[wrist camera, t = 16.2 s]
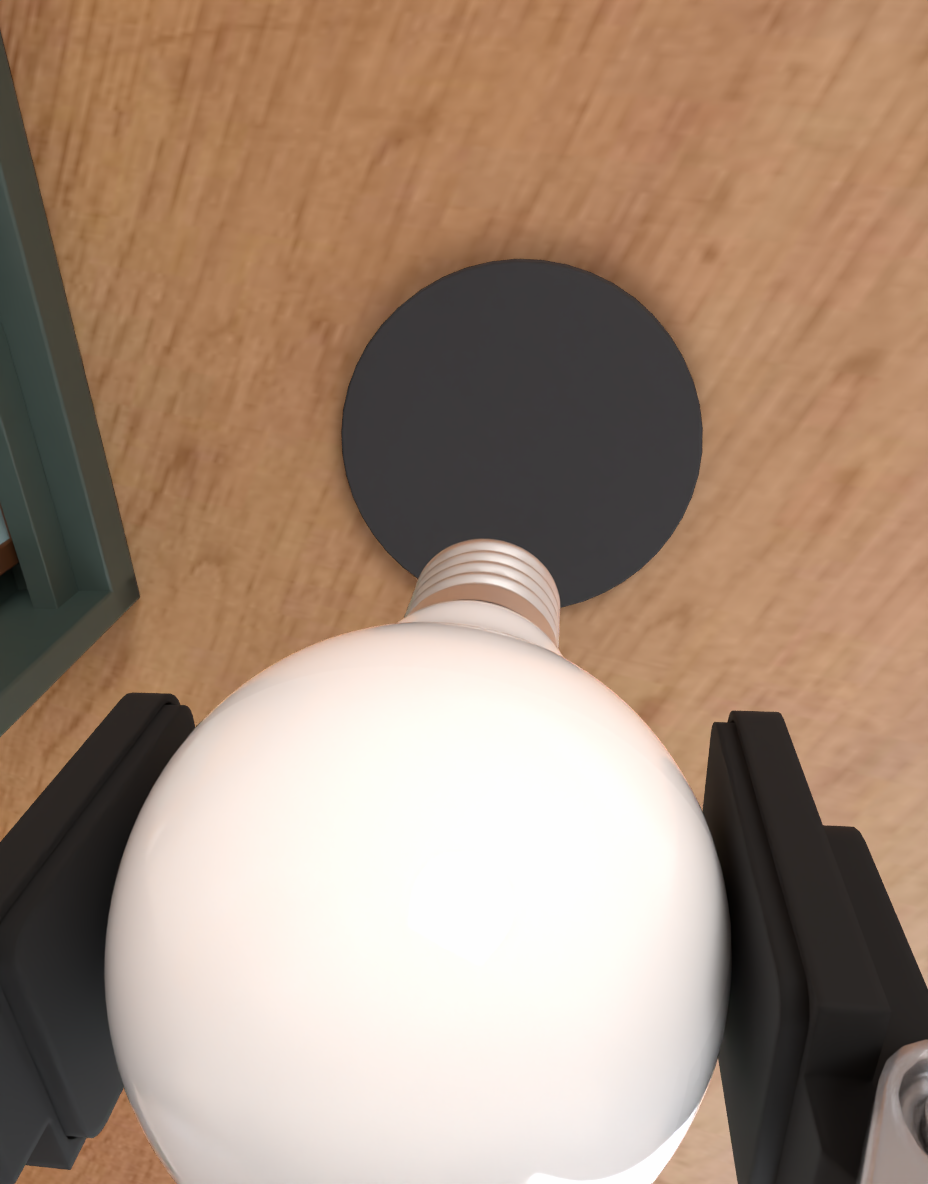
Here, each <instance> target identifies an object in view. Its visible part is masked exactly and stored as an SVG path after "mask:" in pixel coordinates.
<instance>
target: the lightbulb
mask: <svg viewBox="0 0 928 1184" xmlns="http://www.w3.org/2000/svg"><path fill="white" fill-rule="evenodd" d="M559 624H560V598H559V593H558V590H557V587H556V584H555V582H554V580H553V578H552V576H551V574H550V573H549V571H548V570H547V569H546V567H545V566H544V565H543V564H542V563H541V562H540V561H539V560H538V559H537V558H536V557H535V556H533V555H532V554H531V553H529V552H528V551H526V550H524V549H523V548H521V547H519V546H517V545H514V544H511V543H508V542H505V541H501V540H495V539H472V540H467V541H463V542H459V543H457V544H454V545H452V546H450V547H448V548H446V549H444V550H443V551H441V552H440V553H438V554H437V555H436V556H435V557H434V558H432V559H431V560H430V562H429V563H428V564H427V565H426V566H425V568H424V569H423V571H422V572H421V574H420V576H419V578H418V581H417V583H416V586H415V590H414V592H413V595H412V597H411V601H410V603H409V605H408V608H407V611H406V614H405V616H404V618H403V619H401V620H400V621H399V622H397V623H393V624H385V625H379V626H373V627H368V628H364V629H359V630H355V631H351V632H347V633H344V634H340V635H337V636H334V637H331V638H328V639H325V640H322V641H320V642H317V643H315V644H312V645H310V646H308V647H305V648H303V649H301V650H299V651H296V652H294V653H292V654H290V655H288V656H286V657H285V658H283V659H281V660H279V661H277V662H276V663H274V664H272V665H270V666H269V667H267V668H266V669H264V670H262V671H261V672H259V673H258V674H256V675H255V676H253V677H252V678H250V679H249V680H248V681H246V682H245V683H244V684H242V685H241V686H240V687H238V688H237V689H236V690H235V691H233V692H232V693H231V694H230V695H229V696H227V697H226V698H225V699H224V700H223V701H222V702H221V703H219V704H218V705H217V706H216V707H215V708H214V709H213V710H212V711H211V712H210V713H209V714H208V715H207V716H206V717H205V718H204V719H203V720H202V721H201V722H200V723H199V724H198V725H197V726H196V727H195V729H194V730H193V731H192V732H191V733H190V734H189V736H188V737H187V738H186V739H185V740H184V742H183V743H182V744H181V745H180V746H179V748H178V749H177V751H176V752H175V753H174V755H173V756H172V757H171V759H170V760H169V762H168V763H167V764H166V766H165V767H164V769H163V771H162V772H161V774H160V775H159V777H158V779H157V780H156V782H155V783H154V785H153V787H152V789H151V791H150V792H149V794H148V796H147V798H146V800H145V802H144V804H143V806H142V808H141V810H140V812H139V814H138V816H137V819H136V821H135V823H134V825H133V828H132V830H131V833H130V835H129V838H128V841H127V843H126V846H125V849H124V852H123V855H122V858H121V861H120V865H119V868H118V872H117V876H116V879H115V883H114V887H113V892H112V897H111V902H110V907H109V913H108V920H107V928H106V937H105V951H104V991H105V1004H106V1012H107V1020H108V1027H109V1033H110V1038H111V1043H112V1048H113V1052H114V1056H115V1060H116V1063H117V1067H118V1071H119V1074H120V1077H121V1080H122V1083H123V1086H124V1089H125V1092H126V1095H127V1097H128V1100H129V1102H130V1105H131V1107H132V1110H133V1112H134V1114H135V1116H136V1119H137V1121H138V1123H139V1125H140V1127H141V1129H142V1131H143V1133H144V1135H145V1137H146V1138H147V1140H148V1142H149V1144H150V1146H151V1147H152V1149H153V1151H154V1152H155V1154H156V1155H157V1157H158V1159H159V1160H160V1162H161V1163H162V1165H163V1166H164V1168H165V1169H166V1171H167V1172H168V1173H169V1175H170V1176H171V1178H172V1179H173V1180H174V1181H175V1183H176V1184H652V1183H653V1182H654V1181H655V1180H656V1179H657V1177H658V1176H659V1175H660V1173H661V1172H662V1170H663V1169H664V1168H665V1166H666V1165H667V1164H668V1162H669V1161H670V1159H671V1158H672V1156H673V1155H674V1153H675V1152H676V1150H677V1148H678V1147H679V1145H680V1144H681V1142H682V1140H683V1139H684V1137H685V1135H686V1133H687V1131H688V1130H689V1128H690V1126H691V1124H692V1122H693V1120H694V1118H695V1116H696V1114H697V1112H698V1110H699V1107H700V1105H701V1103H702V1101H703V1098H704V1096H705V1094H706V1091H707V1089H708V1086H709V1083H710V1080H711V1078H712V1075H713V1072H714V1069H715V1066H716V1063H717V1059H718V1056H719V1052H720V1049H721V1045H722V1041H723V1036H724V1032H725V1027H726V1022H727V1016H728V1010H729V1002H730V994H731V984H732V963H733V954H732V928H731V917H730V908H729V902H728V895H727V890H726V884H725V880H724V876H723V871H722V867H721V863H720V859H719V856H718V853H717V850H716V846H715V843H714V840H713V837H712V834H711V832H710V829H709V826H708V824H707V821H706V819H705V816H704V814H703V812H702V810H701V807H700V805H699V803H698V801H697V799H696V797H695V795H694V793H693V791H692V789H691V787H690V785H689V783H688V782H687V780H686V778H685V776H684V775H683V773H682V771H681V770H680V768H679V766H678V765H677V763H676V762H675V760H674V759H673V757H672V756H671V754H670V753H669V751H668V750H667V749H666V747H665V746H664V745H663V743H662V742H661V741H660V739H659V738H658V737H657V736H656V734H655V733H654V732H653V731H652V730H651V728H650V727H649V726H648V725H647V724H646V723H645V722H644V720H643V719H642V718H641V717H640V716H639V715H638V714H637V713H636V712H635V711H634V710H633V709H632V708H631V707H630V706H629V705H628V704H627V703H626V702H625V701H624V700H623V699H621V698H620V697H619V696H618V695H617V694H616V693H614V692H613V691H612V690H611V689H610V688H609V687H607V686H606V685H605V684H603V683H602V682H601V681H600V680H598V679H597V678H595V677H594V676H593V675H591V674H590V673H588V672H587V671H585V670H584V669H582V668H581V667H579V666H578V665H576V664H574V663H573V662H571V661H569V660H568V659H566V658H564V657H563V655H562V654H561V652H560V651H559Z"/></svg>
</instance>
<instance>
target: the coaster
mask: <svg viewBox="0 0 928 1184" xmlns="http://www.w3.org/2000/svg"><path fill="white" fill-rule="evenodd" d="M702 431H703V428H702V420H701V412H700V404H699V400H698V397H697V393H696V389H695V386H694V382H693V379H692V377H691V374H690V372H689V370H688V368H687V365H686V363H685V361H684V358H683V356H682V355H681V353H680V351H679V350H678V348H677V346H676V345H675V343H674V341H673V340H672V338H671V337H670V335H669V333H668V332H667V331H666V330H665V329H664V327H663V326H662V325H661V324H660V322H659V321H658V320H657V319H656V318H655V316H654V315H653V314H652V313H651V312H650V311H648V310H647V309H646V308H645V307H644V306H643V305H642V304H641V303H640V302H639V301H637V300H636V299H635V298H634V297H633V296H631V295H630V294H628V293H627V292H625V291H624V290H622V289H621V288H619V287H618V286H616V285H615V284H614V283H612V282H609V281H607V280H605V279H603V278H601V277H599V276H597V275H595V274H593V273H591V272H588V271H585V270H582V269H579V268H576V267H573V266H570V265H567V264H562V263H556V262H550V261H544V260H530V259H511V260H501V261H492V262H487V263H483V264H479V265H475V266H471V267H467V268H464V269H462V270H459V271H457V272H454V273H452V274H449V275H447V276H444V277H442V278H440V279H439V280H437V281H435V282H433V283H432V284H430V285H428V286H426V287H425V288H423V289H421V290H420V291H419V292H417V293H416V294H415V295H414V296H412V297H411V298H410V299H408V300H407V301H406V302H405V303H403V304H402V305H401V306H400V307H398V308H397V309H396V311H395V312H394V313H393V314H392V315H391V316H390V317H389V318H388V319H387V320H386V321H385V322H384V323H383V324H382V325H381V326H380V328H379V329H378V331H377V332H376V333H375V335H374V336H373V337H372V339H371V340H370V342H369V343H368V344H367V346H366V348H365V350H364V352H363V354H362V356H361V357H360V359H359V361H358V363H357V365H356V367H355V370H354V373H353V376H352V378H351V381H350V384H349V386H348V391H347V395H346V400H345V404H344V409H343V419H342V431H341V434H342V454H343V460H344V465H345V471H346V476H347V479H348V483H349V486H350V489H351V492H352V495H353V498H354V500H355V502H356V504H357V507H358V509H359V511H360V513H361V515H362V517H363V519H364V520H365V522H366V524H367V525H368V527H369V528H370V530H371V532H372V533H373V535H374V536H375V537H376V539H377V540H378V541H379V542H380V544H381V545H382V546H383V547H384V549H385V550H386V551H387V552H388V553H389V554H390V555H391V556H392V557H393V558H394V559H395V560H396V561H397V562H398V563H399V564H400V565H401V566H402V567H403V568H405V569H406V570H407V571H409V572H410V573H411V574H413V575H414V576H415V577H416V578H419V576H420V574H421V572H422V571H423V569H424V568H425V566H426V565H427V564H428V563H429V562H430V560H431V559H432V558H434V557H435V556H436V555H437V554H438V553H440V552H441V551H443V550H444V549H446V548H448V547H450V546H452V545H454V544H457V543H459V542H463V541H467V540H472V539H495V540H501V541H505V542H508V543H511V544H514V545H517V546H519V547H521V548H523V549H524V550H526V551H528V552H529V553H531V554H532V555H533V556H535V557H536V558H537V559H538V560H539V561H540V562H541V563H542V564H543V565H544V566H545V567H546V569H547V570H548V571H549V573H550V574H551V576H552V578H553V580H554V582H555V584H556V587H557V590H558V593H559V598H560V608H561V607H565V606H569V605H572V604H576V603H579V602H583V601H586V600H588V599H590V598H593V597H595V596H598V595H600V594H602V593H604V592H606V591H608V590H610V589H612V588H613V587H615V586H617V585H619V584H620V583H622V582H624V581H625V580H626V579H628V578H629V577H630V576H632V575H633V574H635V573H636V572H637V571H639V570H640V569H641V568H642V567H643V566H644V565H645V564H646V563H647V562H649V561H650V560H651V559H652V558H653V557H654V556H655V555H656V554H657V553H658V552H659V550H660V549H661V548H662V547H663V545H664V544H665V543H666V542H667V541H668V539H669V538H670V537H671V535H672V534H673V532H674V531H675V529H676V527H677V526H678V524H679V522H680V521H681V519H682V518H683V516H684V513H685V511H686V509H687V507H688V504H689V502H690V500H691V498H692V495H693V492H694V488H695V485H696V482H697V478H698V475H699V469H700V462H701V456H702Z"/></svg>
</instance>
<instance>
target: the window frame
mask: <svg viewBox="0 0 928 1184" xmlns="http://www.w3.org/2000/svg"><path fill="white" fill-rule="evenodd" d="M0 503H1V506H2V509H3V512H4V516H5V519H6V522H7V525H8V528H9V532H10V535H11V538H12V541H13V544H14V547H15V551H16V554H17V557H18V560H19V563H18V564H16V565H15V566H14V567H12V568H11V569H9V570H8V571H7V572H5V573H4V574H2V575H1V576H0V737H1V736H2V735H3V734H4V733H5V732H6V731H7V730H8V729H9V728H10V727H11V726H12V725H13V724H14V723H15V722H16V721H17V720H18V719H19V718H20V717H21V716H22V715H23V714H24V713H25V712H26V711H27V710H28V709H29V708H30V707H31V706H32V705H33V704H34V703H35V702H36V701H37V700H38V699H39V698H40V697H41V696H42V695H43V694H44V693H45V692H46V691H47V690H48V689H49V688H50V687H51V686H52V685H53V684H54V683H55V682H56V681H57V680H58V679H59V678H60V677H61V676H62V675H63V674H64V673H65V672H66V671H67V670H68V669H69V668H70V667H71V666H72V665H73V664H74V663H75V662H76V661H77V660H78V659H79V658H80V657H81V656H82V655H83V654H84V653H85V652H86V651H87V650H88V649H89V648H90V647H91V646H92V645H93V644H94V643H95V642H96V641H97V640H98V639H99V638H100V637H101V636H102V635H103V634H104V633H105V632H106V631H107V630H108V629H109V628H110V627H111V626H112V625H113V624H114V623H115V622H116V621H117V620H118V619H119V618H120V617H121V616H122V615H123V614H124V613H125V612H126V611H127V610H128V609H129V608H130V607H131V606H132V605H133V604H134V603H135V602H136V601H137V600H138V599H139V597H140V595H139V591H138V587H137V582H136V578H135V574H134V570H133V566H132V562H131V558H130V554H129V550H128V546H127V542H126V538H125V534H124V530H123V526H122V522H121V518H120V514H119V510H118V506H117V502H116V497H115V493H114V489H113V485H112V481H111V477H110V473H109V469H108V465H107V461H106V457H105V453H104V449H103V445H102V441H101V437H100V433H99V429H98V425H97V421H96V417H95V413H94V408H93V404H92V400H91V396H90V392H89V388H88V384H87V380H86V376H85V372H84V368H83V364H82V360H81V356H80V352H79V348H78V344H77V340H76V336H75V332H74V328H73V324H72V319H71V315H70V311H69V307H68V303H67V299H66V295H65V291H64V287H63V283H62V279H61V275H60V271H59V267H58V263H57V259H56V255H55V251H54V247H53V243H52V239H51V234H50V230H49V226H48V222H47V218H46V214H45V210H44V206H43V202H42V198H41V194H40V190H39V186H38V182H37V178H36V174H35V170H34V166H33V162H32V158H31V154H30V150H29V145H28V141H27V137H26V133H25V129H24V125H23V121H22V117H21V113H20V109H19V105H18V101H17V97H16V93H15V89H14V85H13V81H12V77H11V73H10V69H9V65H8V61H7V56H6V52H5V48H4V44H3V40H2V36H1V32H0Z"/></svg>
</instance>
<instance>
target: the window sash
mask: <svg viewBox="0 0 928 1184" xmlns="http://www.w3.org/2000/svg"><path fill="white" fill-rule="evenodd" d="M18 563H19V560H18V557H17V554H16V551H15V547H14V544H13V541H12V538H11V535H10V532H9V528H8V525H7V522H6V519H5V516H4V512H3V509H2V506H1V503H0V576H1V575H2V574H4V573H5V572H7V571H8V570H9V569H11V568H12V567H14V566H15V565H16V564H18Z"/></svg>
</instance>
